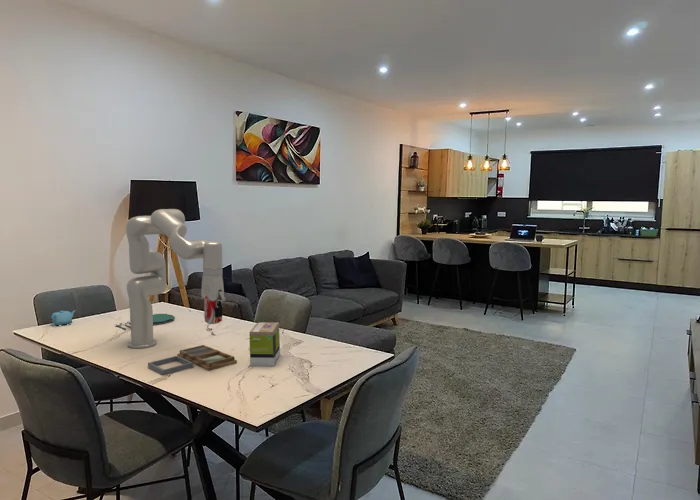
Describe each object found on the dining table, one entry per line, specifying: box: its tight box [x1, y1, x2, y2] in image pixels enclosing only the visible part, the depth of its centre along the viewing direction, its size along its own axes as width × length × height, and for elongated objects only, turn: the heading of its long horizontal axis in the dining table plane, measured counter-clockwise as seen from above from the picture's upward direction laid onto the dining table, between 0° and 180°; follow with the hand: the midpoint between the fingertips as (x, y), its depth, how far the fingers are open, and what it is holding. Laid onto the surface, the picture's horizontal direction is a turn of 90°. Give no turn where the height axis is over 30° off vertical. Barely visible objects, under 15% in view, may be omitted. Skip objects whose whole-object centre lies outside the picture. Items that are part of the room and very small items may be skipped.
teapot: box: [51, 310, 77, 326], centre depth 258 cm, size 12×6×8 cm, turn 139°
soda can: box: [203, 294, 223, 325], centre depth 198 cm, size 7×7×12 cm
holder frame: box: [147, 355, 194, 376], centre depth 194 cm, size 13×13×2 cm
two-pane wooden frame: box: [176, 344, 238, 372], centre depth 204 cm, size 25×13×3 cm, turn 48°
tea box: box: [249, 322, 281, 367], centre depth 204 cm, size 15×10×15 cm
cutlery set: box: [115, 313, 176, 331], centre depth 264 cm, size 20×30×2 cm, turn 136°
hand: (213, 314), depth 198 cm, fingers closed on soda can, 6 cm apart
